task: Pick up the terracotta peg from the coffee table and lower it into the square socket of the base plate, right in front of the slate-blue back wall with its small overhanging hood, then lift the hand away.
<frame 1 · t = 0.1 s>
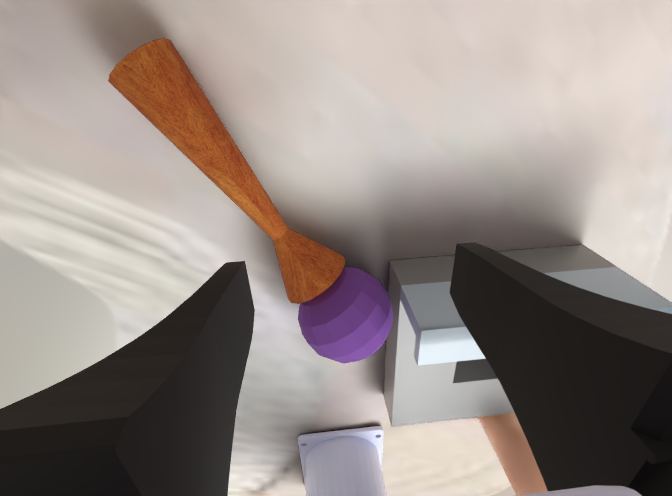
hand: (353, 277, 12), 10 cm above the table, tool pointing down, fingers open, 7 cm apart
kendama: (279, 211, 22), on the table
peg: (494, 410, 33), on the table
socket: (472, 327, 27), on the table
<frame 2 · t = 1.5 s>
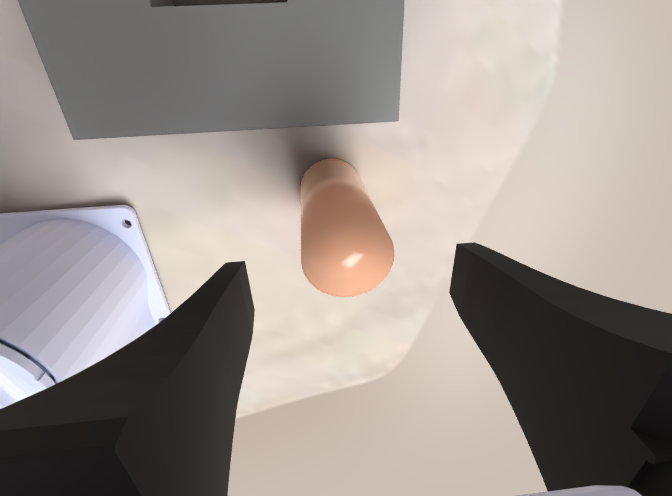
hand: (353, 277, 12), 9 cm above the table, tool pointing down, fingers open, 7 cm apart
peg: (330, 188, 20), on the table
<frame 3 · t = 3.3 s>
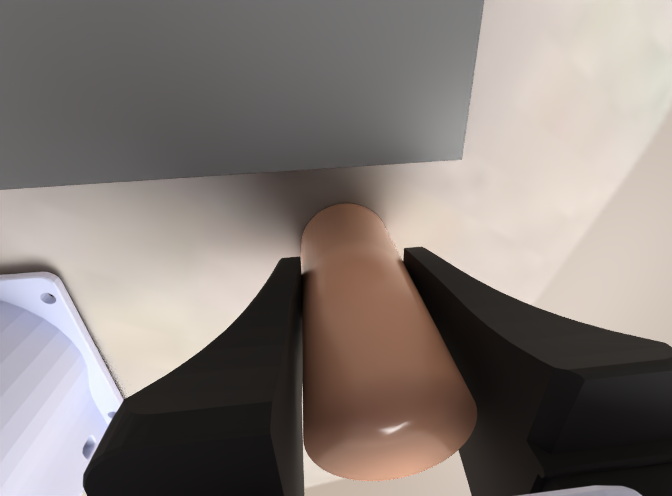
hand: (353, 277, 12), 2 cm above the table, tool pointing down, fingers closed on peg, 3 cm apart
peg: (344, 244, 14), on the table, touching gripper
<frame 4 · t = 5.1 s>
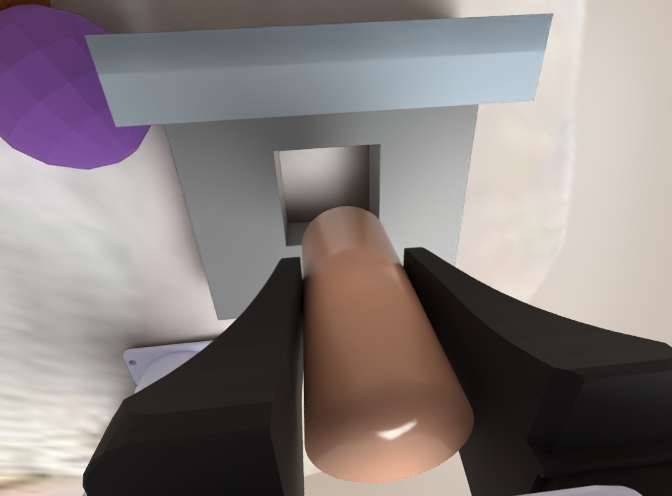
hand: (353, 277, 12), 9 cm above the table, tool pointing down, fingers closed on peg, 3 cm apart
peg: (344, 245, 14), point 7 cm above the table, touching gripper
socket: (326, 180, 20), on the table
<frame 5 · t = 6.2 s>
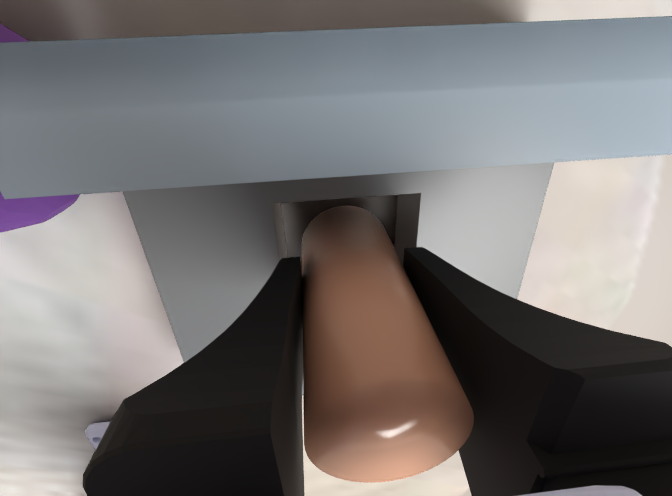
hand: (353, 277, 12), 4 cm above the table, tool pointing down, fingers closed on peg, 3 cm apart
peg: (344, 245, 14), point 2 cm above the table, touching gripper
socket: (340, 227, 15), on the table
when the fingers open (4 cm above the table, at t = 7.0 s): peg drops 1 cm, resting in socket.
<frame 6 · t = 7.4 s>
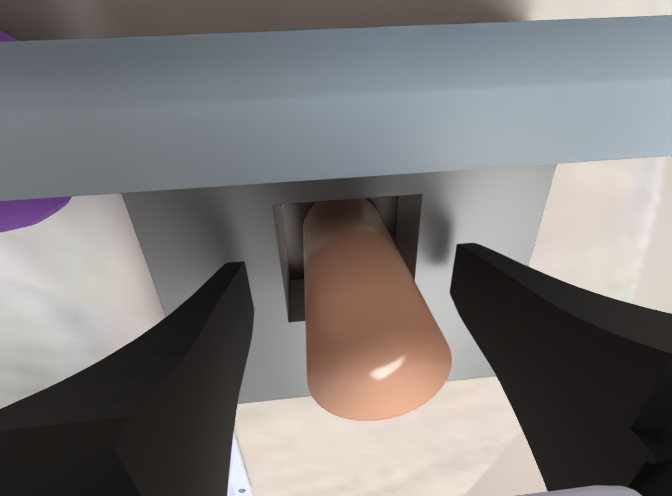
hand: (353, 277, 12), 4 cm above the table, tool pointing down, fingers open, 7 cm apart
peg: (342, 230, 15), resting in socket
socket: (341, 228, 15), on the table
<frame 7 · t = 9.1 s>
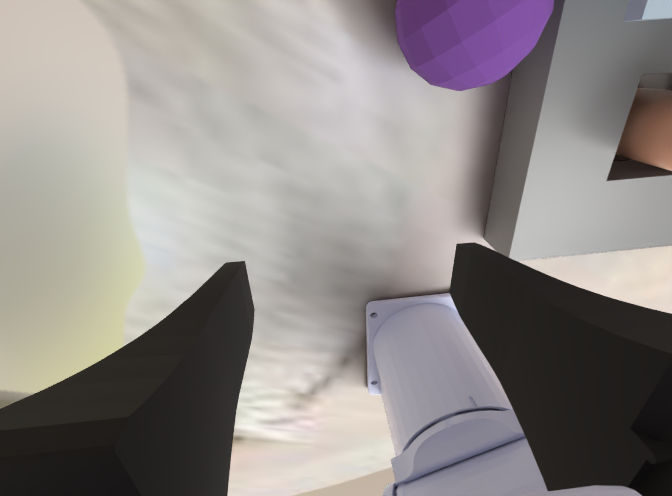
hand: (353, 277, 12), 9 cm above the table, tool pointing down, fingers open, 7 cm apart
peg: (621, 120, 20), resting in socket
socket: (620, 119, 20), on the table
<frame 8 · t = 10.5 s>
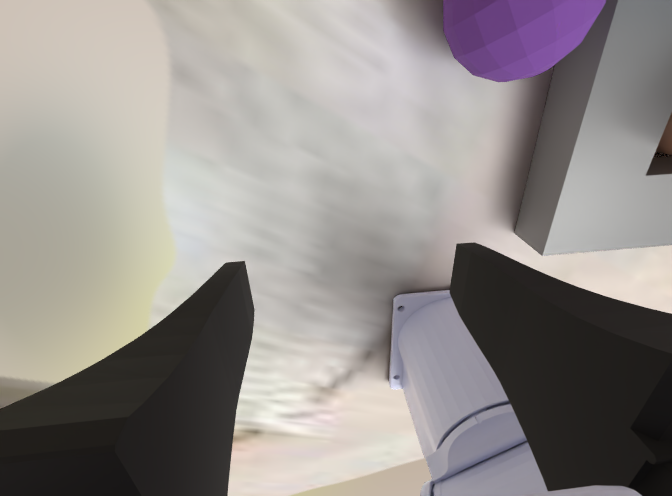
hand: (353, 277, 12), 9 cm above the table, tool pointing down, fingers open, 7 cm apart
peg: (657, 116, 20), resting in socket
socket: (657, 114, 20), on the table
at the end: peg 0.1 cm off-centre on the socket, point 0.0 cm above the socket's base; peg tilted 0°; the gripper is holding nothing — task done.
